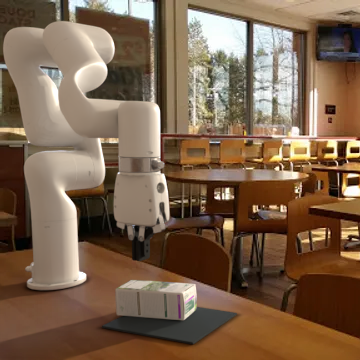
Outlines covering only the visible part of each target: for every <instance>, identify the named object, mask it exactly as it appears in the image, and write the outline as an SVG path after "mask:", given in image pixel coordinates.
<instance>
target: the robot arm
mask: <svg viewBox="0 0 360 360" xmlns="http://www.w3.org/2000/svg"><path fill="white" fill-rule="evenodd" d="M115 50H116V48H115V43H114V40H113V37H112V36H111V34H110V33H109V32H108V31H107V30H106V29H104V28H102V27H99V26H95V25H89V24H84V23H77V22H73V21H67V20H58V21H57V20H56V21H53V22H51V23H49V24H48V25H47V26H46V27H45V28H40V27H32V26H31V27H30V26H19V27H13V28H12V29H9V31H7V33H6V34H5V35H4V38H3V44H2V51H3V59H4V64H5V66H6V70H7V71H8V74H9V76H10V78H11V80H12V81H13V84H14V86H15V89H16V92H17V98H18V103H19V109H20V114H21V121H22V126H23V130H24V134H25V137H26V140H27V141H28V142H29V143H30V144H31V145H32V146H36V147H45V148H47V147H48V148H49V147H53V148H55V147H58V148H59V147H72V148H73V149H74V150H45V151H39V152H35V153H33V154H31V155H30V156H28V157H27V158H26V160H25V162H24V165H23V173H24V178H25V182H26V186H27V191H28V195H29V196H28V197H29V204H30V219H31V236H32V237H31V239H32V255H33V257H32V258H33V260H32V262H31V263H30V264H29V265H28V266H25V269H24V271H25V272H26V273H31V277H30V278H29V279H27V281H26V287H27V288H28V289H31V290H35V291H55V290H62V289H63V290H64V289H68V288H72V287H76V286H79V285H81V284H83V283H84V282H86V281H87V274H86V273H85V272H83V271H80V261H79V259H80V258H79V236H78V212H77V207H76V204H75V203H74V202H73V201H72V200H71V198H70V197H69V196H68V195H67V193H66V192H68V191H75V190H87V189H93V188H97V187H99V186H100V185H102V184H103V183H104V181H105V176H106V165H105V159H104V153H103V148H102V142H101V139H118V141H117V142H118V172H117V173H116V177H115V183H114V191H113V216H114V220H115V221H116V227H117V228H120V229H122V230H124V231H125V232H126V234H127V236H128V240H129V241H131V260H132V261H137V262H142V261H145V260H148V259H150V256H151V239H153V237H154V235H155V234H157V233H162V232H165V231H166V225H165V224H166V223H167V222H169V221H170V201H169V200H170V199H169V191H168V185H167V184H168V183H167V180H166V176H165V173H161V169H164V167H165V163H164V161H161V110H160V107H159V105H158V103H156V102H153V101H146V100H145V101H144V100H141V101H140V100H117V99H104V98H88V97H87V96H86V95H85V94H86V93H89V92H91V91H94V90H96V89H97V88H99V87H100V86H101V85H102V84H103V83H104V82H105V81H106V79H107V76H108V67H107V64H109V63H110V62H111V61H112V60H113V58H114V56H115ZM41 67H47V68H58V70H59V72H60V73H61V75H62V76H63V77H62V79H61V80H60V83H59V85H58V87H57V85H56V83H55V82H54V81H53V79H52V78H51V77H50V76H49V75H48V74H47V73H46V72H45V71H44V70H43V69H42V68H41Z"/></svg>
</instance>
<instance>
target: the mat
mask: <svg viewBox="0 0 360 360" xmlns="http://www.w3.org/2000/svg"><path fill="white" fill-rule="evenodd" d="M237 315H238V313H237V312H232V311H228V310H227V311H226V310H220V309H214V308H206V307H201V306H200V307H199V306H197V307H196V310H195V311H194V312H193V313H192V314H191V315H189V316H188V317H187V318H186V319H185V320H171V319H157V318H144V317H132V316H121V315H120V316H118V317H117V318H115V319H113V320H111V321H109V322H107V323H105V324H102V325H101V328H102V329H106V330H110V331H111V330H112V331H117V332H121V333H122V332H123V333H128V334H133V335H139V336H144V337H150V338H155V339H161V340H165V341H171V342H177V343H182V344H187V345H188V344H189V345H194V344H196V343H198V342H199V341H200V340H202V339H204V338H205V337H206V336H208V335H209V334H211V333H212V332H214V331H215V330H217V329H218V328H220V327H221V326H223V325H224V324H226V323H227V322H228V321H230V320H232V319H233V318H234V317H236V316H237Z"/></svg>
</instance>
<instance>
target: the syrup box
mask: <svg viewBox="0 0 360 360" xmlns="http://www.w3.org/2000/svg"><path fill="white" fill-rule="evenodd" d="M196 286H197V284H195V283H187V282H172V281H156V280H142V279H129V280H128V281H127V282H124V283H123V284H121V285H119V286H118V287H115V290H114V291H115V294H114V295H115V312H116V316H120V317H121V316H132V317H144V318H157V319H171V320H185V319H186V318H187V317H188V316H189V315H191V314H192V313H193V312H194V311H195V310H196V307H198V306H197V305H198V304H197V303H198V295H197V287H196Z"/></svg>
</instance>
